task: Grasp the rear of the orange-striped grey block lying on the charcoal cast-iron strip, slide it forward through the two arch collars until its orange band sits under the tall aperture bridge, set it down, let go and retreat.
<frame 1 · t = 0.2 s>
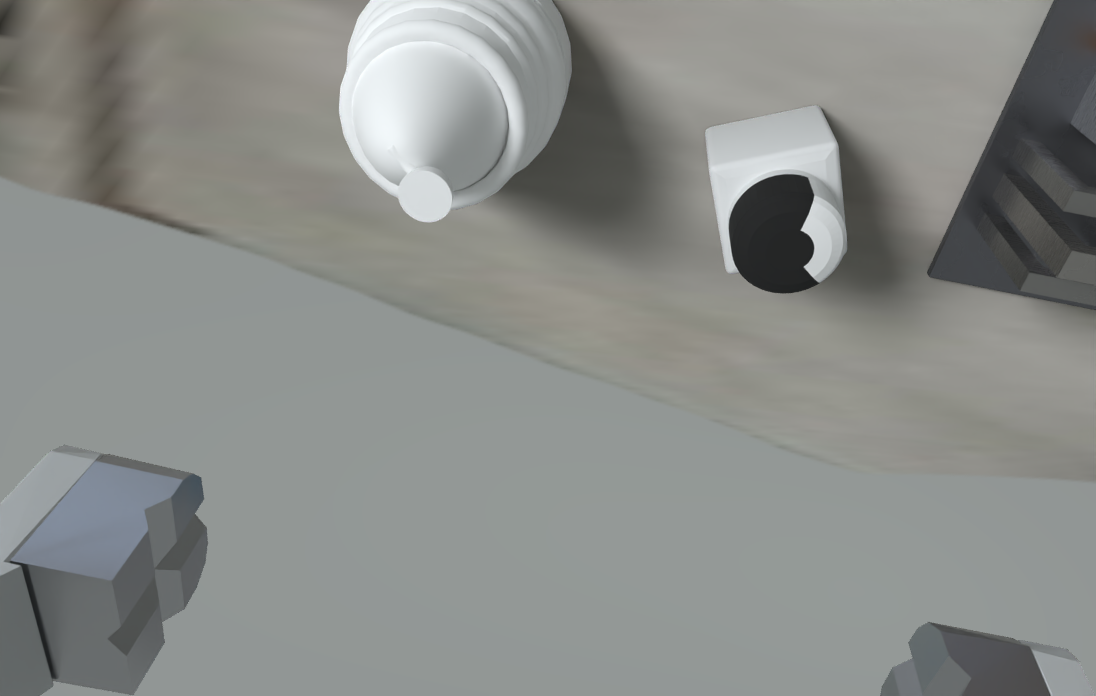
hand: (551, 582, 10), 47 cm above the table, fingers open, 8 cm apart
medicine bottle: (767, 166, 56), on the table
honey pot: (471, 60, 54), on the table
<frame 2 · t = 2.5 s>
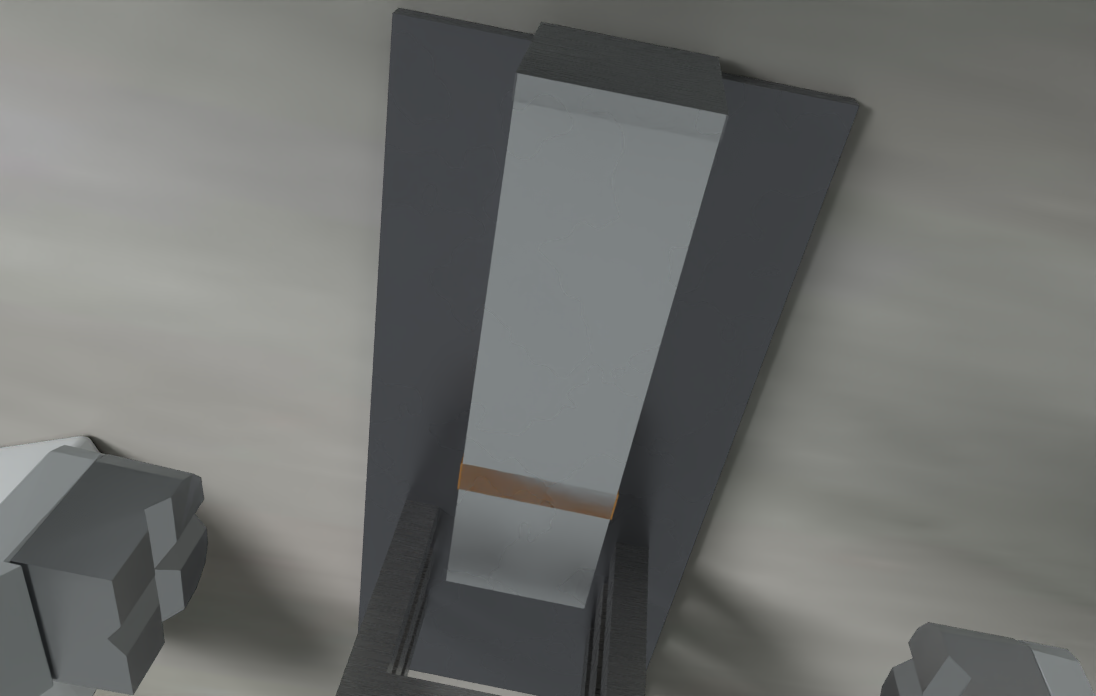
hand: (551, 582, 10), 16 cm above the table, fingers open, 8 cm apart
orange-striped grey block: (573, 308, 26), point 1 cm above the table, touching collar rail
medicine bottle: (65, 505, 35), on the table
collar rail: (544, 443, 30), on the table
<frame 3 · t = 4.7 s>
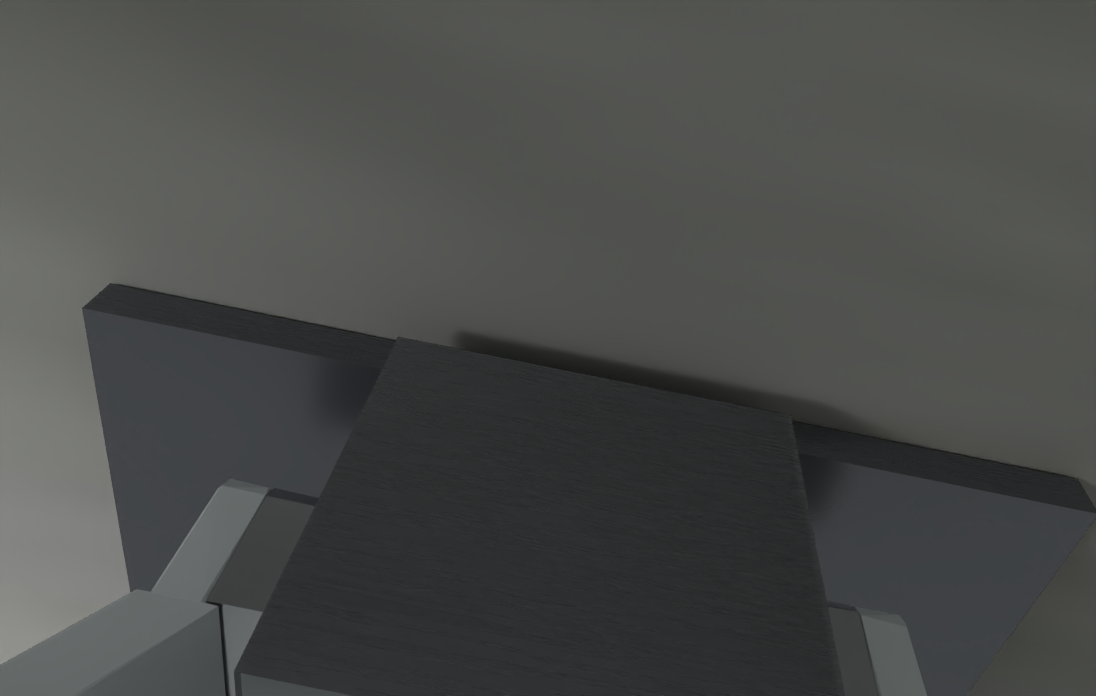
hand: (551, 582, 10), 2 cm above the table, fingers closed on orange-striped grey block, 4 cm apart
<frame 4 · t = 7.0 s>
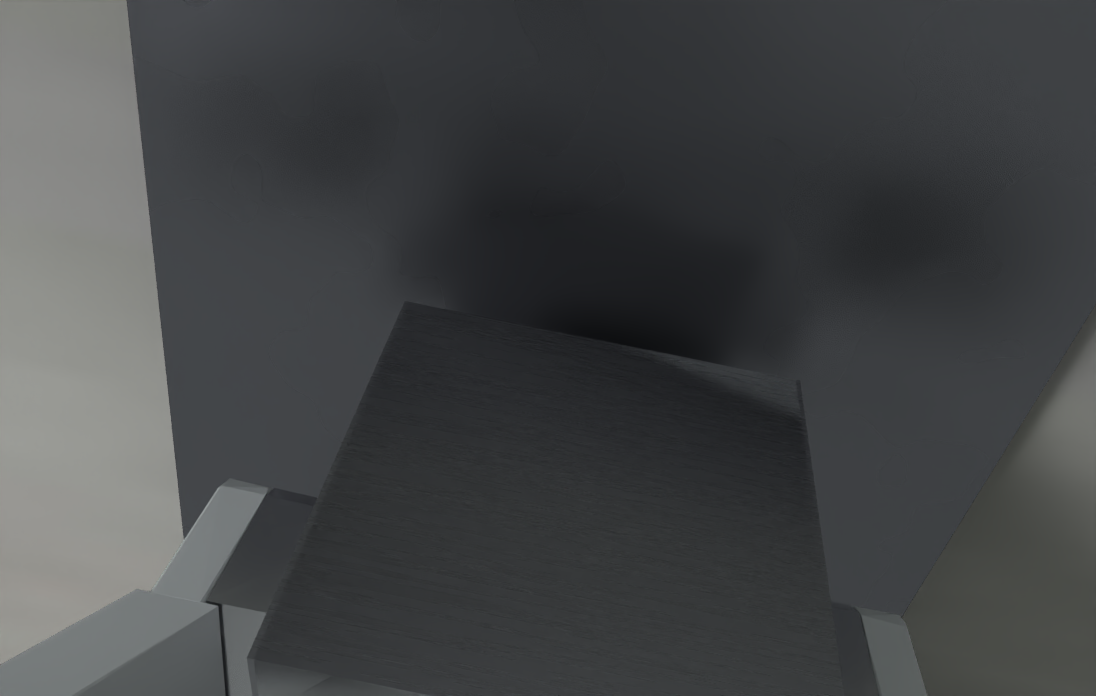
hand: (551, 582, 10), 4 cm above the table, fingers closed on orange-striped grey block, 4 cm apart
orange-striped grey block: (514, 692, 15), point 1 cm above the table, tilted 6°, touching gripper
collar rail: (513, 640, 16), on the table
when the fingers open (2 cm above the table, at t = 9.6 s): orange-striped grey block stays where it is, resting on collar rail.
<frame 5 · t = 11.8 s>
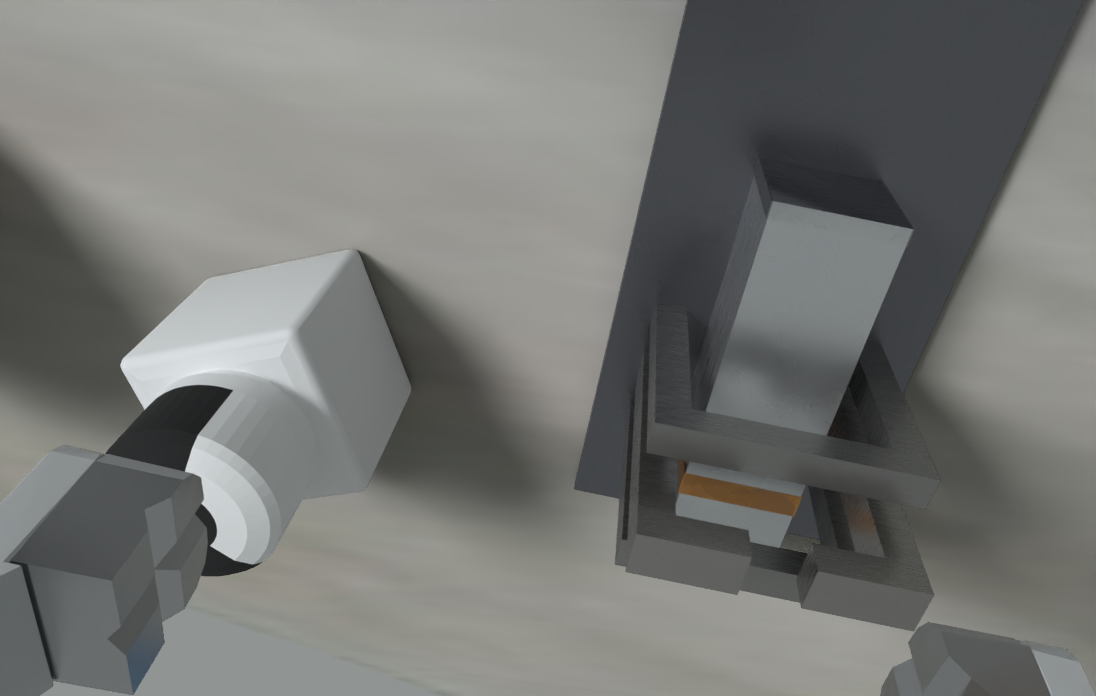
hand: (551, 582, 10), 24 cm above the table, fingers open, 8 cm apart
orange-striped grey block: (755, 358, 34), point 1 cm above the table, touching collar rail
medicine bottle: (314, 332, 37), on the table
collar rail: (794, 240, 32), on the table
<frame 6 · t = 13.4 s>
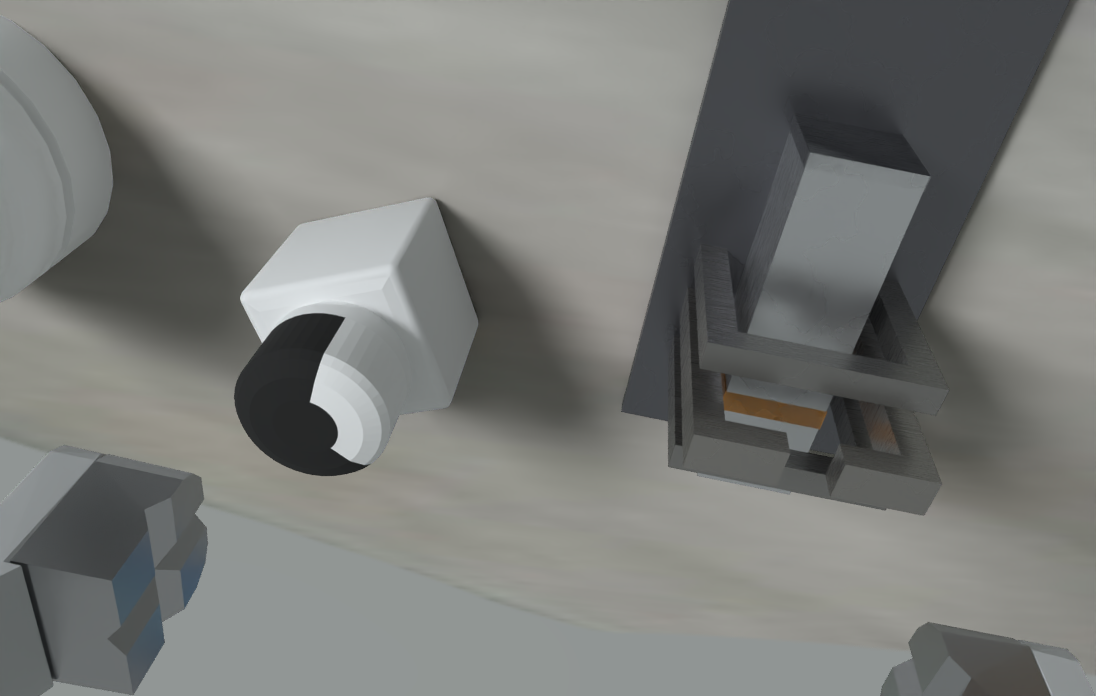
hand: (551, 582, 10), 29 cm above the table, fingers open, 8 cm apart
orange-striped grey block: (786, 292, 39), point 1 cm above the table, touching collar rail
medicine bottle: (392, 272, 42), on the table
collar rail: (823, 187, 37), on the table
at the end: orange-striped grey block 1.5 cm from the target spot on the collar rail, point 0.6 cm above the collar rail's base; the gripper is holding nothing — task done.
